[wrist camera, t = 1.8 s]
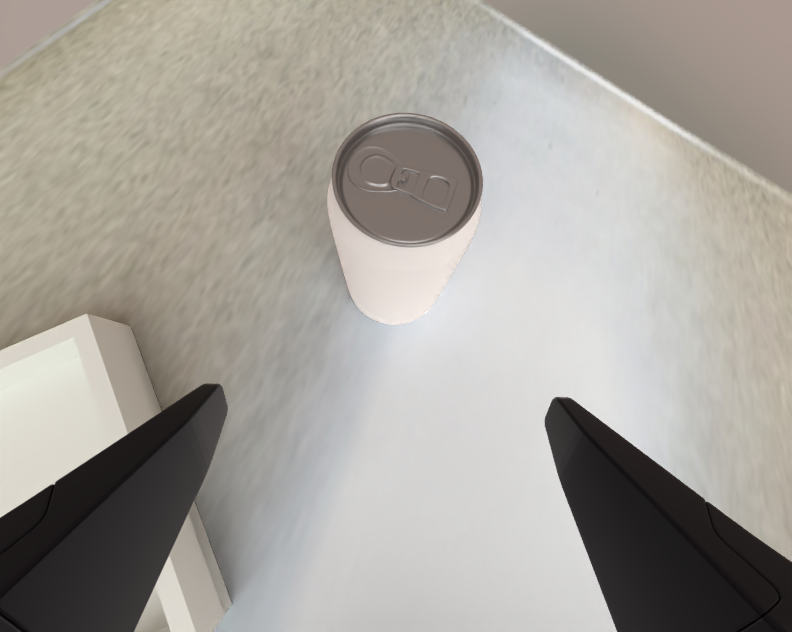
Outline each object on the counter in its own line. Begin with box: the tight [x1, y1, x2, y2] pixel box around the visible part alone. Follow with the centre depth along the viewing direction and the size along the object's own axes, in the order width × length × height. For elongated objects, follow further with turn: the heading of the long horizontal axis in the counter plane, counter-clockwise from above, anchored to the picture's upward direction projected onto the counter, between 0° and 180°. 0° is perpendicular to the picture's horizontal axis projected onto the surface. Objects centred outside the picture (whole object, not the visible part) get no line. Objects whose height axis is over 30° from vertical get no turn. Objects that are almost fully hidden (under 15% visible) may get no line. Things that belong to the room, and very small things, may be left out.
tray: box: [0, 314, 232, 632], centre depth 18 cm, size 18×14×4 cm
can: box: [327, 113, 483, 325], centre depth 19 cm, size 6×6×12 cm
